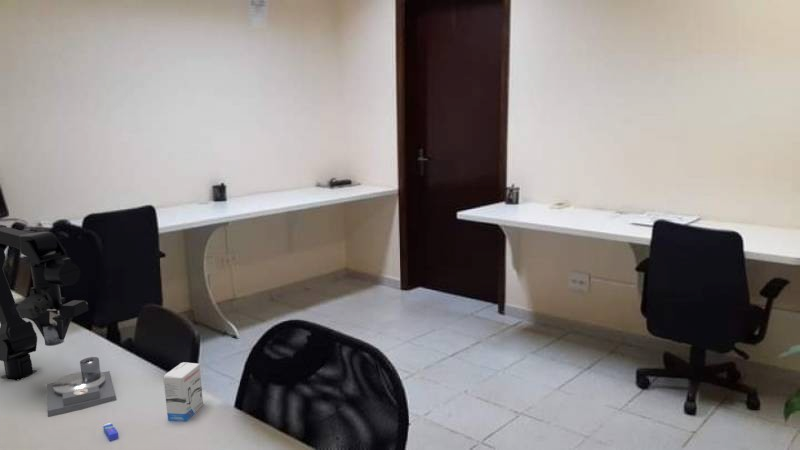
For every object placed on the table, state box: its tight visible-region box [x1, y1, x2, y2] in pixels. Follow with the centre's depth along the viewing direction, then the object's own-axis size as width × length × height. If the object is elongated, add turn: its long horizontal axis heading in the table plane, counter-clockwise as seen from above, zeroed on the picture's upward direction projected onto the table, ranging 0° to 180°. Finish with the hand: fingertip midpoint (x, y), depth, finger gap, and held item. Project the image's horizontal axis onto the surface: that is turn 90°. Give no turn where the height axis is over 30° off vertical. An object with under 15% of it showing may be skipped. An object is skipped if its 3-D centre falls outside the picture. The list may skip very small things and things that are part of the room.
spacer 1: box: [43, 321, 65, 347], centre depth 161 cm, size 4×4×5 cm
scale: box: [46, 370, 117, 417], centre depth 159 cm, size 17×15×4 cm
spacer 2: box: [79, 356, 102, 382], centre depth 161 cm, size 4×4×5 cm
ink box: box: [163, 361, 204, 423], centre depth 147 cm, size 9×5×12 cm, turn 168°
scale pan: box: [53, 371, 105, 394], centre depth 160 cm, size 12×12×1 cm
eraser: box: [102, 422, 119, 442], centre depth 139 cm, size 2×6×2 cm, turn 37°
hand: (54, 339), depth 162 cm, fingers closed on spacer 1, 4 cm apart
